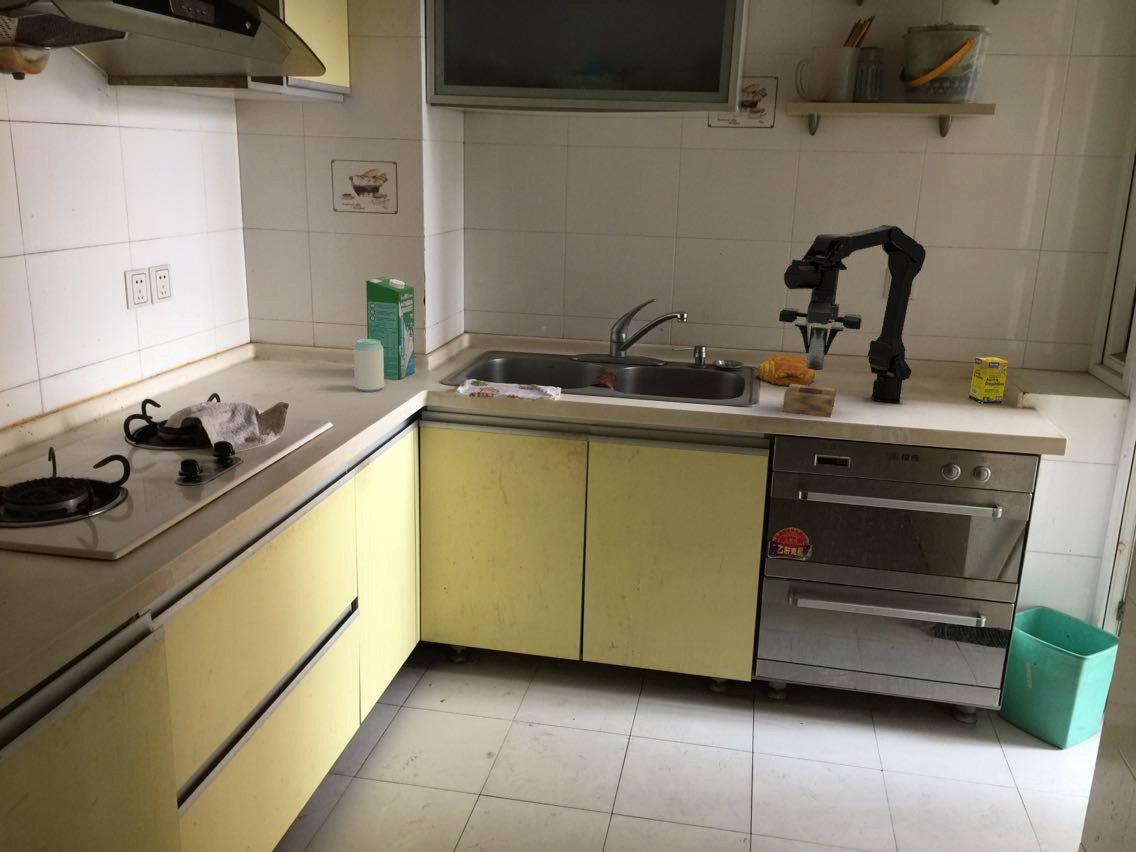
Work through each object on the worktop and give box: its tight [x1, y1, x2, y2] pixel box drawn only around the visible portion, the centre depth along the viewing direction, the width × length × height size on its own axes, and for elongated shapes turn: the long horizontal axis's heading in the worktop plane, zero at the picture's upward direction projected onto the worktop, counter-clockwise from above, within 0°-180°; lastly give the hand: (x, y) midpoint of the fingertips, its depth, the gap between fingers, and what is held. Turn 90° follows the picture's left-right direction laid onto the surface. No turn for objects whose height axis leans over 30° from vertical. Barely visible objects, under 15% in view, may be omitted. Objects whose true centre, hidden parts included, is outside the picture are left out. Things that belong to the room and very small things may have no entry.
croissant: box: [757, 354, 816, 387], centre depth 261 cm, size 14×16×8 cm
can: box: [353, 338, 385, 393], centre depth 234 cm, size 7×7×12 cm
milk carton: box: [365, 276, 415, 381], centre depth 247 cm, size 9×9×25 cm
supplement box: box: [968, 356, 1010, 404], centre depth 246 cm, size 6×6×11 cm
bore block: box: [782, 384, 837, 418], centre depth 232 cm, size 11×11×4 cm
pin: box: [806, 325, 829, 371], centre depth 229 cm, size 4×4×10 cm
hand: (816, 354), depth 230 cm, fingers closed on pin, 4 cm apart
